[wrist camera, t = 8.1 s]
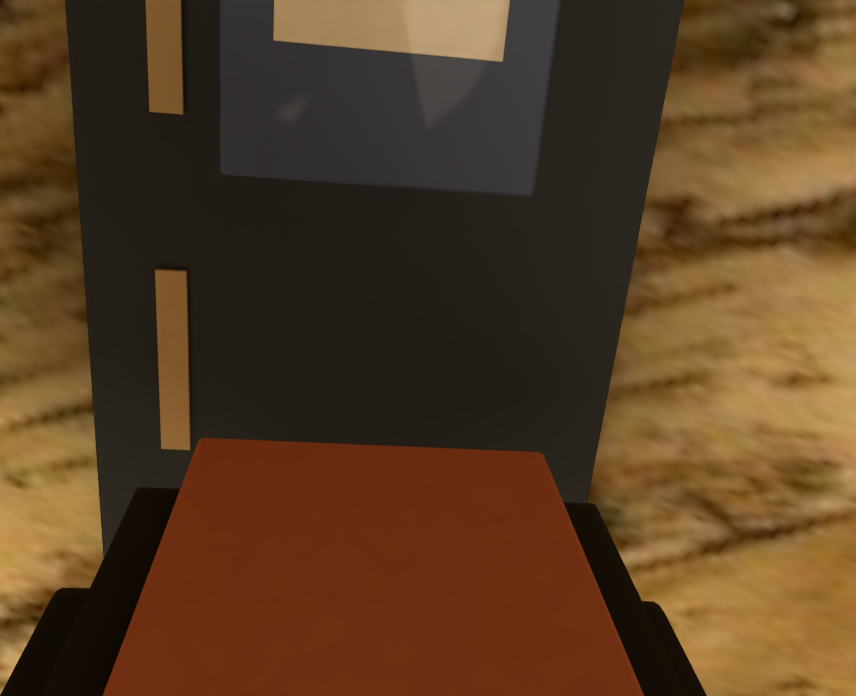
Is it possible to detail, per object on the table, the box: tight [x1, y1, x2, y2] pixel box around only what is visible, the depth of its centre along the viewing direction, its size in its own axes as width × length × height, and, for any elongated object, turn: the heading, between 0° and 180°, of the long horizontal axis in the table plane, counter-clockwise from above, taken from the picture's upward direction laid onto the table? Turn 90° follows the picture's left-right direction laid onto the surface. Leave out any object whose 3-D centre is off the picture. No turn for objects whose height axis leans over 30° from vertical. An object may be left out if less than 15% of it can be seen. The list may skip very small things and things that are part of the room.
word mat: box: [65, 0, 684, 557], centre depth 18 cm, size 22×11×1 cm, turn 175°
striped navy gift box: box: [220, 0, 561, 198], centre depth 13 cm, size 4×4×4 cm
